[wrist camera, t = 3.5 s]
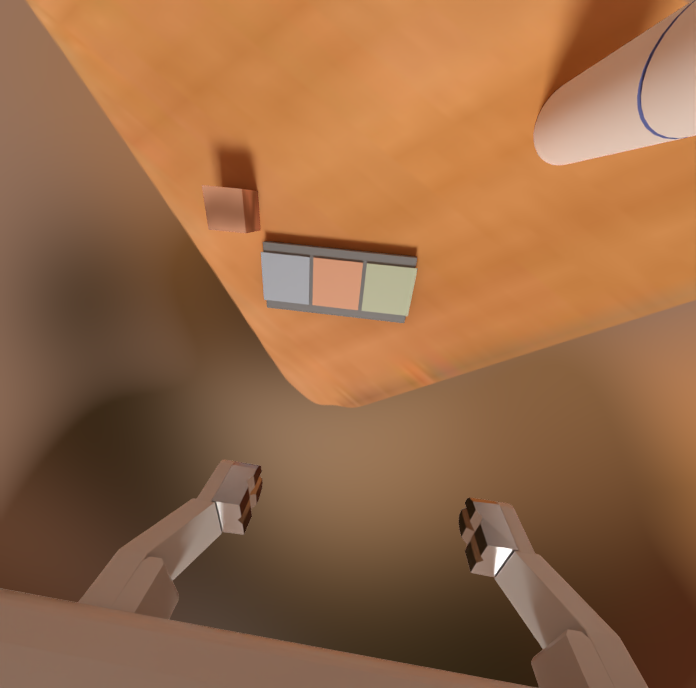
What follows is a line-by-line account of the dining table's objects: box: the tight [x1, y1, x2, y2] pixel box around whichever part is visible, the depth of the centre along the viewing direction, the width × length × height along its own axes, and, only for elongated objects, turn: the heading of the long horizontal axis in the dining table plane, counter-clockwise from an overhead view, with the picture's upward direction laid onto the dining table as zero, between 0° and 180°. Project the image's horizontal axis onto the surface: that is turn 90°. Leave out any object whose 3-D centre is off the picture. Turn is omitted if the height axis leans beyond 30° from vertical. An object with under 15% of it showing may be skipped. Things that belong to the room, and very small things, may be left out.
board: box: [261, 241, 417, 323], centre depth 36 cm, size 9×20×2 cm, turn 85°
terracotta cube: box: [202, 185, 260, 233], centre depth 32 cm, size 4×4×4 cm
